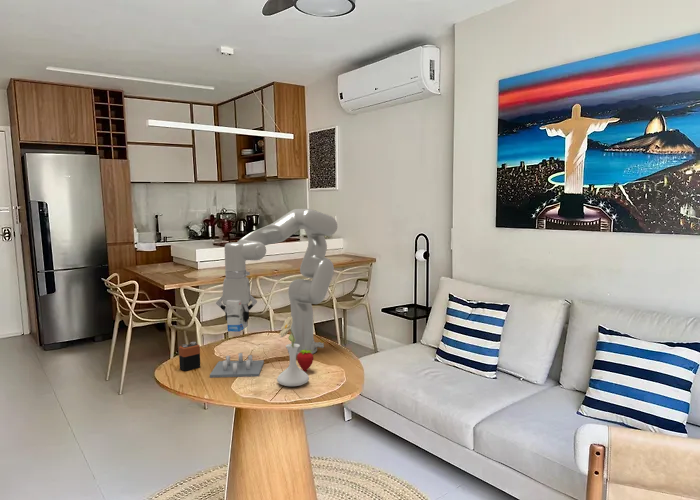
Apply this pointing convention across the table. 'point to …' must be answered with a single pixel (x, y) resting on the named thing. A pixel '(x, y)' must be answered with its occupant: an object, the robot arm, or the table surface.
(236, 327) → the ink box
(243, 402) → the table surface
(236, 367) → the pin tray
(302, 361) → the strawberry
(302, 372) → the flower in vase
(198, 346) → the battery
